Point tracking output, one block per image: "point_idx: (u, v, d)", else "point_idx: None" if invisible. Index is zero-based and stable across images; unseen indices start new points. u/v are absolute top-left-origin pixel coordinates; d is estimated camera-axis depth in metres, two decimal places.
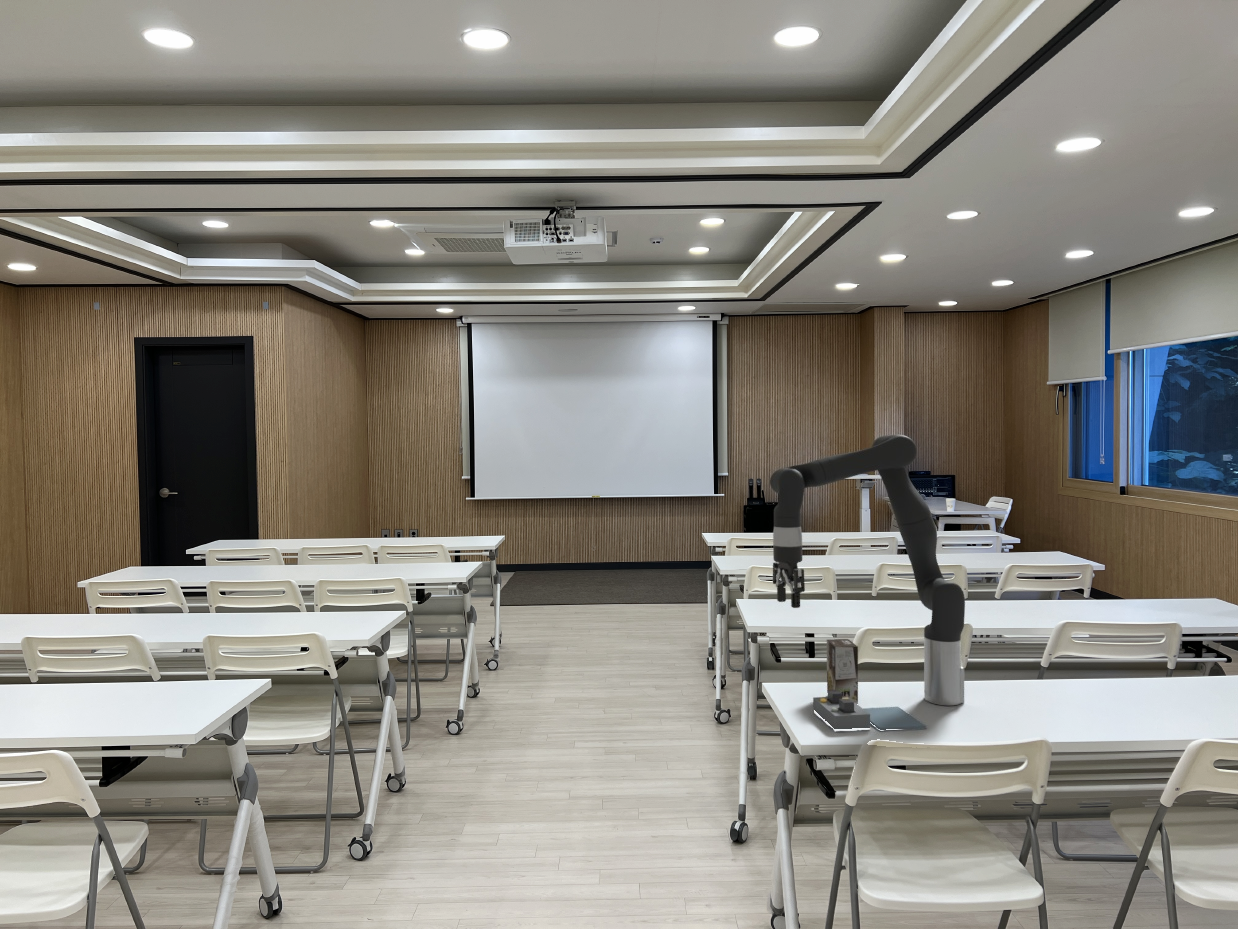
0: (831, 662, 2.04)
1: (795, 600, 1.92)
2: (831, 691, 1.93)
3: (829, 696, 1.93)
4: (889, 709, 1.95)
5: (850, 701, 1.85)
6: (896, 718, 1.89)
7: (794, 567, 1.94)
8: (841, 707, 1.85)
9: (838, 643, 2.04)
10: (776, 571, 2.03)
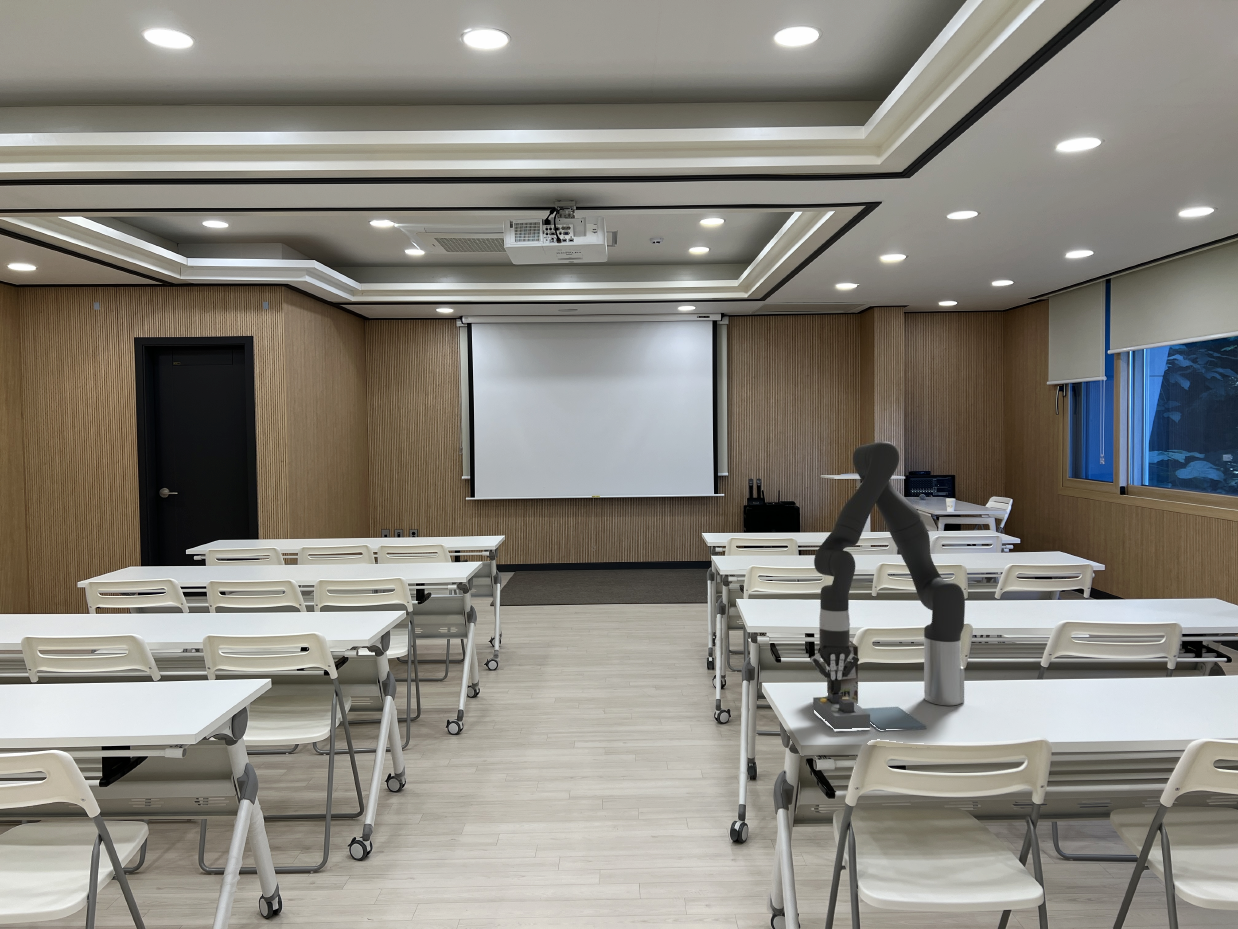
0: None
1: (840, 685, 1.92)
2: None
3: (829, 698, 1.93)
4: (889, 709, 1.95)
5: (850, 701, 1.85)
6: (896, 718, 1.89)
7: None
8: (841, 707, 1.85)
9: None
10: (820, 664, 1.91)
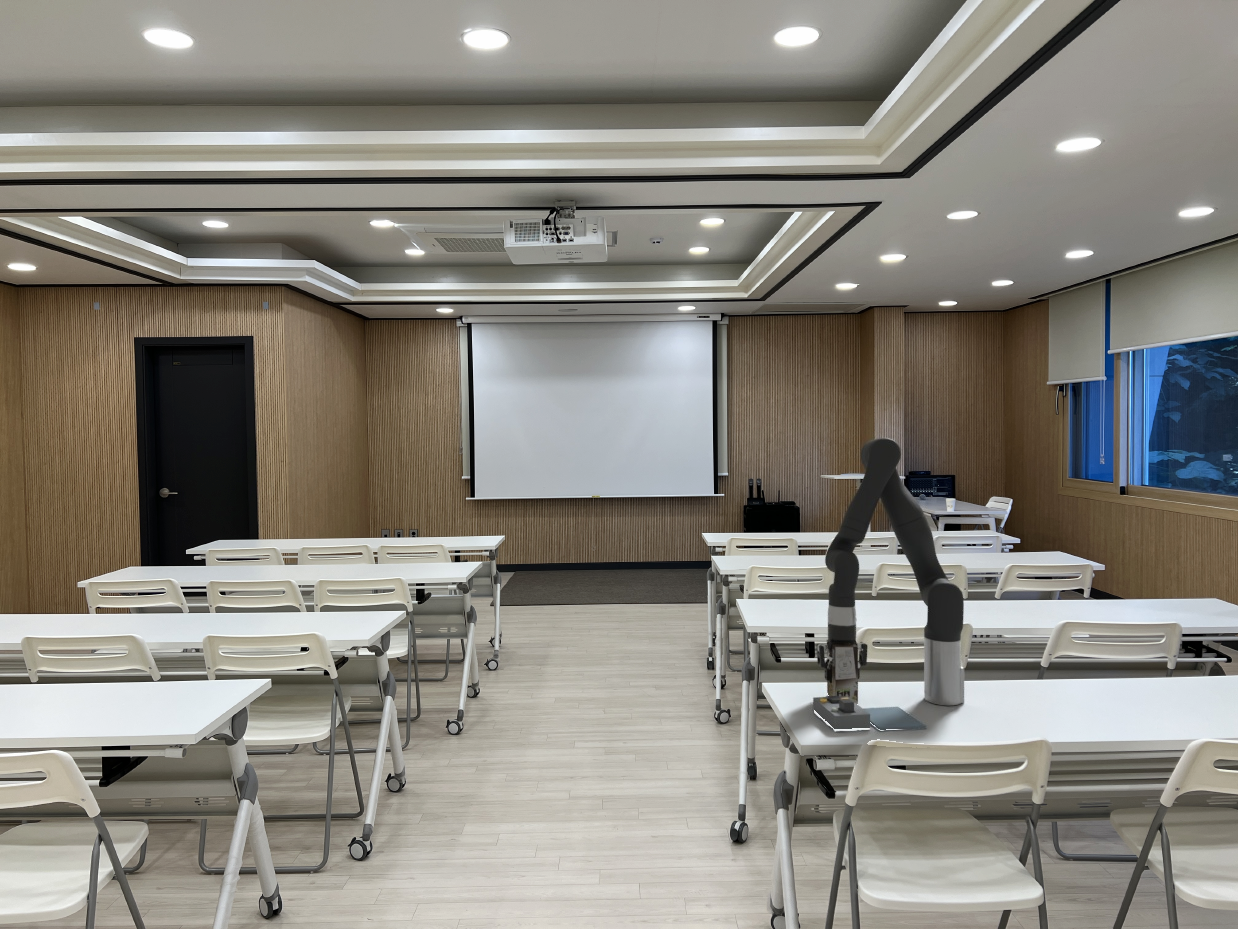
0: None
1: None
2: (831, 697, 1.93)
3: None
4: (889, 709, 1.95)
5: (850, 701, 1.85)
6: (896, 718, 1.89)
7: None
8: (841, 707, 1.85)
9: None
10: None
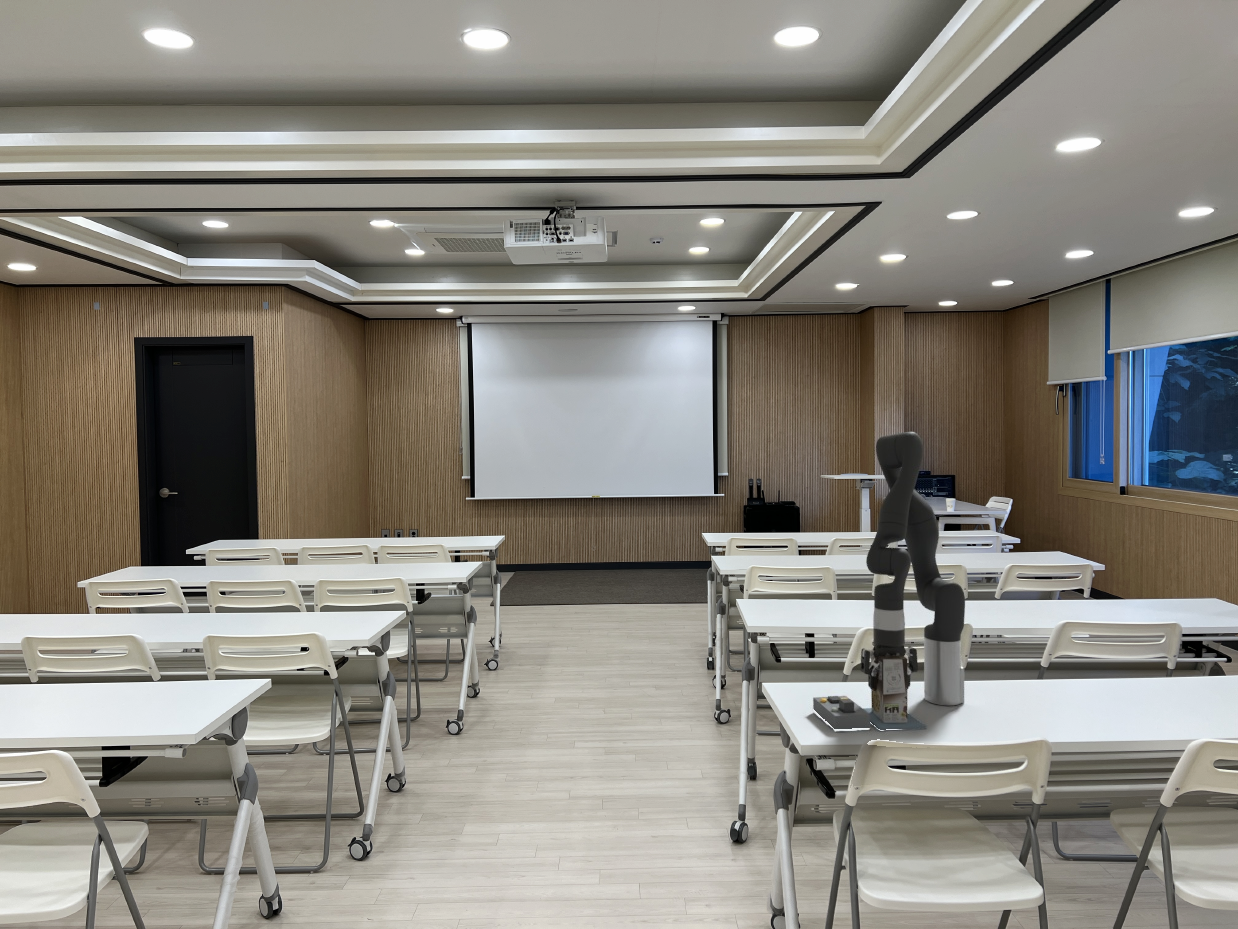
0: (877, 675, 1.88)
1: (909, 680, 1.90)
2: (831, 697, 1.93)
3: None
4: None
5: (850, 701, 1.85)
6: None
7: None
8: (841, 707, 1.85)
9: None
10: None
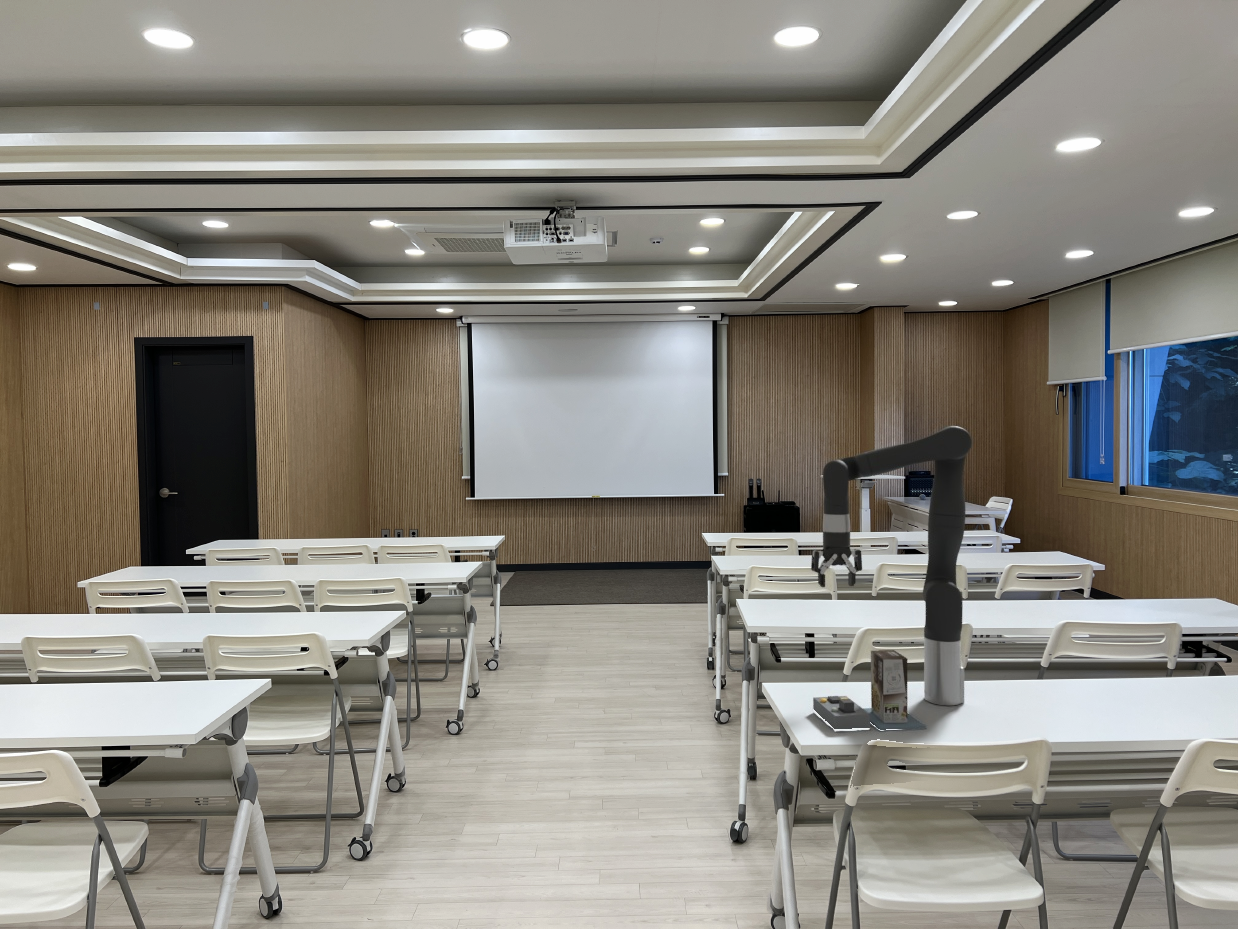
0: (877, 675, 1.88)
1: None
2: (831, 697, 1.93)
3: None
4: None
5: (850, 701, 1.85)
6: None
7: None
8: (841, 707, 1.85)
9: (885, 655, 1.89)
10: None
